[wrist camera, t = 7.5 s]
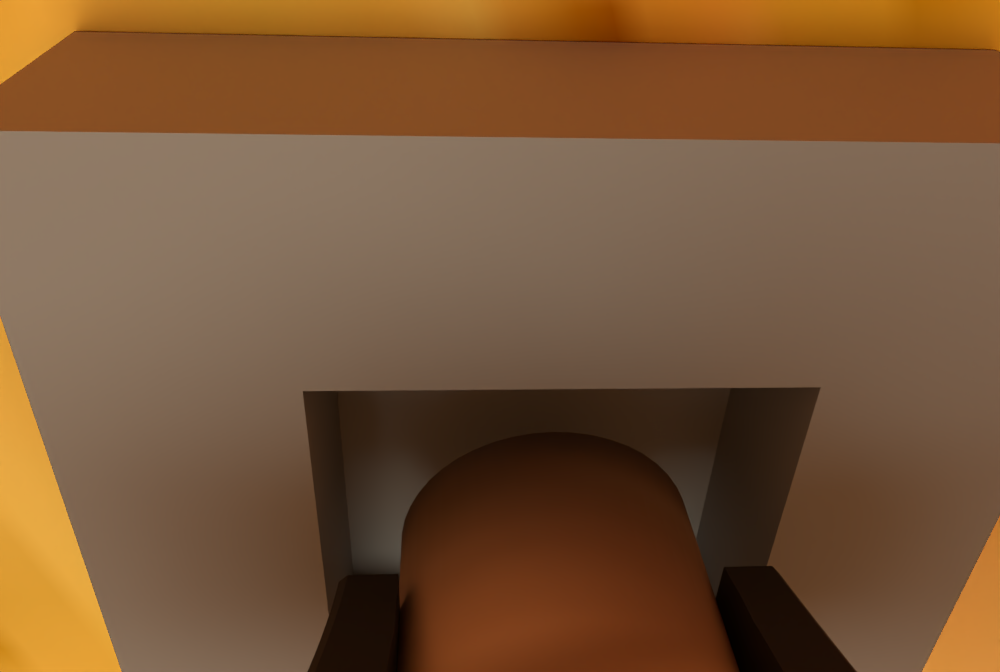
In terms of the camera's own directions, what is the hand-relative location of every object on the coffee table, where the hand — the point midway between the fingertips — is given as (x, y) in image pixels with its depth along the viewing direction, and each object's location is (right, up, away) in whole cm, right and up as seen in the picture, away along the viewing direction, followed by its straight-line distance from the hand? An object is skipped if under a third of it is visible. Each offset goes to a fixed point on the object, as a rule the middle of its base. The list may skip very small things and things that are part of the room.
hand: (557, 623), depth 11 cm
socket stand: (0, +2, +4) cm, 4 cm away
